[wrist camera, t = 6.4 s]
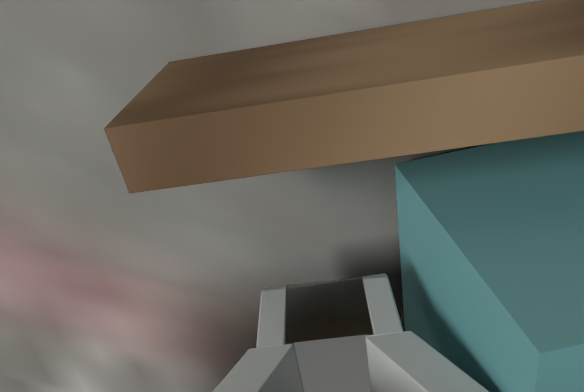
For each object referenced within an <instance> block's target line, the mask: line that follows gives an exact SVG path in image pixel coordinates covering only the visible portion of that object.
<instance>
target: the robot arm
mask: <svg viewBox="0 0 584 392" xmlns="http://www.w3.org/2000/svg"><path fill="white" fill-rule="evenodd" d="M213 392H489V391H488V390H486V389H485V388H484V387H483V386H481V385H480V384H479V383H478V382H476V381H475V380H474V379H472V378H471V377H470V376H469V375H467V374H466V373H465V372H463V371H462V370H461V369H460V368H458V367H457V366H456V365H454V364H453V363H452V362H451V361H449V360H448V359H447V358H445V357H444V356H443V355H442V354H440V353H439V352H438V351H436V350H435V349H434V348H433V347H431V346H430V345H429V344H428V343H426V342H425V341H424V340H422V339H421V338H420V337H419V336H417V335H416V334H415V333H413V332H412V331H405V332H404V331H403V327H402V324H401V320H400V317H399V313H398V310H397V306H396V303H395V299H394V296H393V292H392V289H391V285H390V282H389V278H388V276H387V275H386V274H385V273H383V274H375V275H368V276H362V278H361V277H358V278H350V279H342V280H334V281H324V282H314V283H304V284H294V285H287V286H277V287H267V288H263V290H262V292H261V300H260V311H259V322H258V333H257V345H256V348H251V349H248V351H247V352H246V353H245V354H244V355H243V356H242V358H241V359H240V360H239V361H238V362H237V364H236V365H235V366H234V367H233V368H232V370H231V371H230V372H229V373H228V374H227V375H226V377H225V378H224V379H223V380H222V381H221V383H220V384H219V385H218V386H217V387H216V388H215V390H214V391H213Z"/></svg>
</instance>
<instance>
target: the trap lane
mask: <svg viewBox="0 0 584 392" xmlns="http://www.w3.org/2000/svg"><path fill="white" fill-rule="evenodd" d="M104 130H105V133H106V135H107V138H108V140H109V143H110V145H111V148H112V150H113V153H114V155H115V158H116V161H117V163H118V166H119V168H120V171H121V173H122V176H123V178H124V181H125V183H126V186H127V188H128V191H129V193H136V192H143V191H151V190H158V189H165V188H172V187H180V186H187V185H194V184H201V183H209V182H216V181H223V180H230V179H237V178H245V177H252V176H259V175H266V174H274V173H281V172H288V171H295V170H302V169H310V168H317V167H324V166H331V165H339V164H346V163H353V162H360V161H367V160H375V159H382V158H389V157H396V156H404V155H411V154H418V153H425V152H433V151H440V150H447V149H454V148H461V147H469V146H476V145H483V144H490V143H498V142H505V141H512V140H519V139H526V138H534V137H541V136H548V135H555V134H563V133H570V132H577V131H584V0H543V1H537V2H531V3H525V4H519V5H513V6H507V7H501V8H494V9H488V10H482V11H476V12H470V13H464V14H458V15H452V16H446V17H440V18H434V19H428V20H422V21H416V22H410V23H403V24H397V25H391V26H385V27H379V28H373V29H367V30H361V31H355V32H349V33H343V34H337V35H331V36H325V37H319V38H312V39H306V40H300V41H294V42H288V43H282V44H276V45H270V46H264V47H258V48H252V49H246V50H240V51H234V52H228V53H222V54H215V55H209V56H203V57H197V58H191V59H185V60H179V61H173V62H169V63H168V64H167V65H166V66H165V67H164V68H163V69H162V70H161V71H160V72H159V73H158V74H157V75H156V76H155V77H154V78H153V79H152V80H151V81H150V82H149V83H148V84H147V85H146V86H145V87H144V88H143V89H142V90H141V91H140V92H139V93H138V94H137V95H136V96H135V97H134V98H133V99H132V101H131V102H130V103H129V104H128V105H127V106H126V107H125V108H124V109H123V110H122V111H121V112H120V113H119V114H118V115H117V116H116V117H115V118H114V119H113V120H112V121H111V122H110V123H109V124H108V125H107V126H106V127H105V128H104Z"/></svg>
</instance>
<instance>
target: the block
mask: <svg viewBox="0 0 584 392" xmlns="http://www.w3.org/2000/svg"><path fill="white" fill-rule="evenodd" d="M395 179H396V195H397V212H398V228H399V244H400V260H401V277H402V293H403V309H404V325H405V331H412V332H413V333H415V334H416V335H417V336H419V337H420V338H421V339H422V340H424V341H425V342H426V343H428V344H429V345H430V346H431V347H433V348H434V349H435V350H436V351H438V352H439V353H440V354H442V355H443V356H444V357H445V358H447V359H448V360H449V361H451V362H452V363H453V364H454V365H456V366H457V367H458V368H460V369H461V370H462V371H463V372H465V373H466V374H467V375H469V376H470V377H471V378H472V379H474V380H475V381H476V382H478V383H479V384H480V385H481V386H483V387H484V388H485V389H486V390H488V391H489V392H584V131H577V132H570V133H563V134H555V135H548V136H541V137H534V138H526V139H519V140H512V141H505V142H498V143H493V144H488V145H484V146H479V147H474V148H469V149H465V150H460V151H455V152H450V153H446V154H441V155H436V156H431V157H427V158H422V159H417V160H413V161H408V162H403V163H398V164H395Z"/></svg>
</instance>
